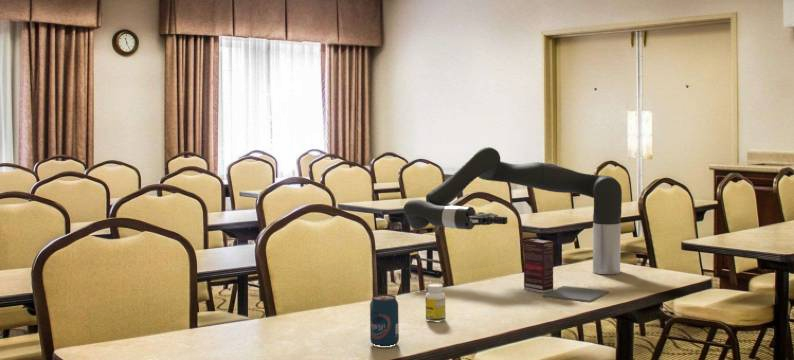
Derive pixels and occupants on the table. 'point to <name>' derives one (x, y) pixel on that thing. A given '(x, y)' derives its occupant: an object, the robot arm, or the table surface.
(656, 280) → the table surface
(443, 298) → the supplement bottle
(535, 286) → the supplement box
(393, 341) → the soda can
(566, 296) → the mat
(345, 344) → the table surface
